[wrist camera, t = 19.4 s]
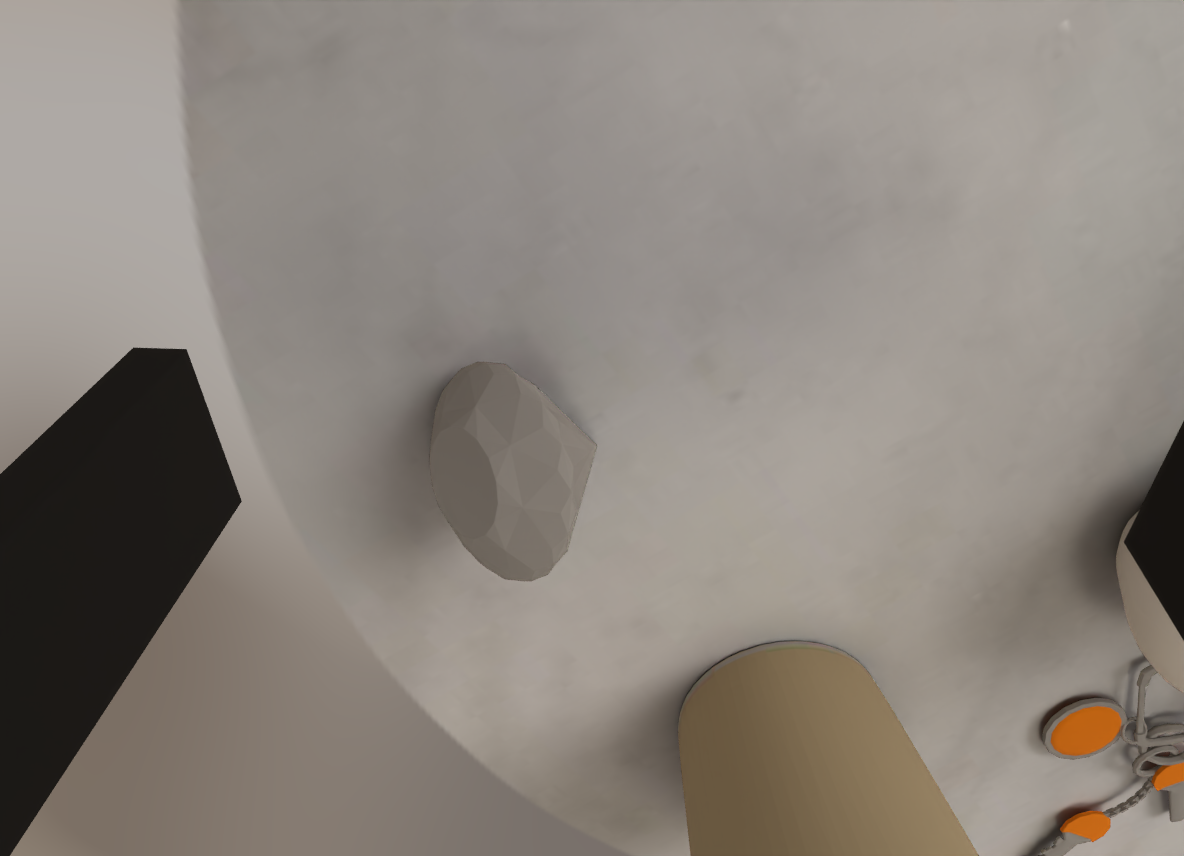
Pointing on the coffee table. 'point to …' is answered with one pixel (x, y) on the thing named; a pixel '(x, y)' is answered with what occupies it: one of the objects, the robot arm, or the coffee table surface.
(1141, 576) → the plain white apple
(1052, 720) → the key chain
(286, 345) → the coffee table surface
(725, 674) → the coffee cup
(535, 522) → the gemstone
